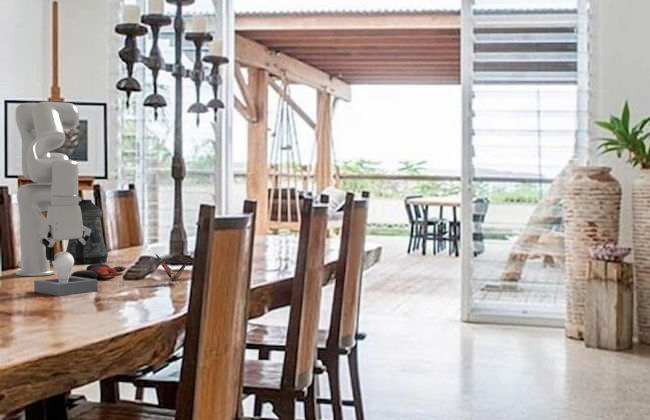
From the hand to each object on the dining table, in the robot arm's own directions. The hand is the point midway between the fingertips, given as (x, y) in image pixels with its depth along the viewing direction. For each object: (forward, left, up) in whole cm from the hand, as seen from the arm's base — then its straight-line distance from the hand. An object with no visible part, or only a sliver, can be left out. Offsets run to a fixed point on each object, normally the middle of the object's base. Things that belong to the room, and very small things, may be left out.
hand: (65, 258), depth 226 cm
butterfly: (+14, +30, -10) cm, 34 cm away
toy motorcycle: (-19, +26, -10) cm, 34 cm away
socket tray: (+1, 0, -10) cm, 10 cm away
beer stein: (-63, +48, -10) cm, 80 cm away
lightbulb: (0, -1, -9) cm, 9 cm away
